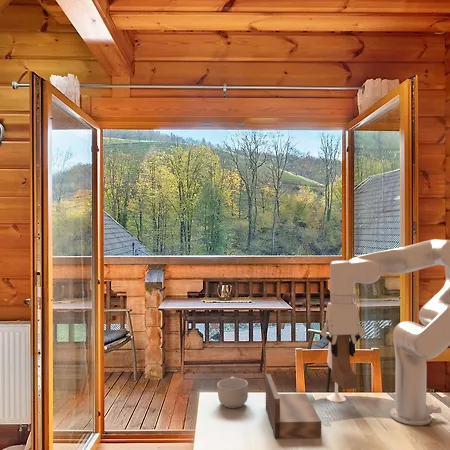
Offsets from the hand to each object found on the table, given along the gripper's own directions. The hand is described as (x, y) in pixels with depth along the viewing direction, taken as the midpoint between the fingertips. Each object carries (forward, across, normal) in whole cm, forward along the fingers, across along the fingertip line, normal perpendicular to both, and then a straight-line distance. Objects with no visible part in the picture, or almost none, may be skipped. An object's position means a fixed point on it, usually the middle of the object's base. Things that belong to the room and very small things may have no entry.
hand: (343, 354), depth 148 cm
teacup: (+21, +35, -17) cm, 44 cm away
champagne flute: (+22, -3, -20) cm, 30 cm away
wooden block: (+10, 0, 0) cm, 10 cm away
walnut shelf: (+22, +17, -1) cm, 27 cm away
